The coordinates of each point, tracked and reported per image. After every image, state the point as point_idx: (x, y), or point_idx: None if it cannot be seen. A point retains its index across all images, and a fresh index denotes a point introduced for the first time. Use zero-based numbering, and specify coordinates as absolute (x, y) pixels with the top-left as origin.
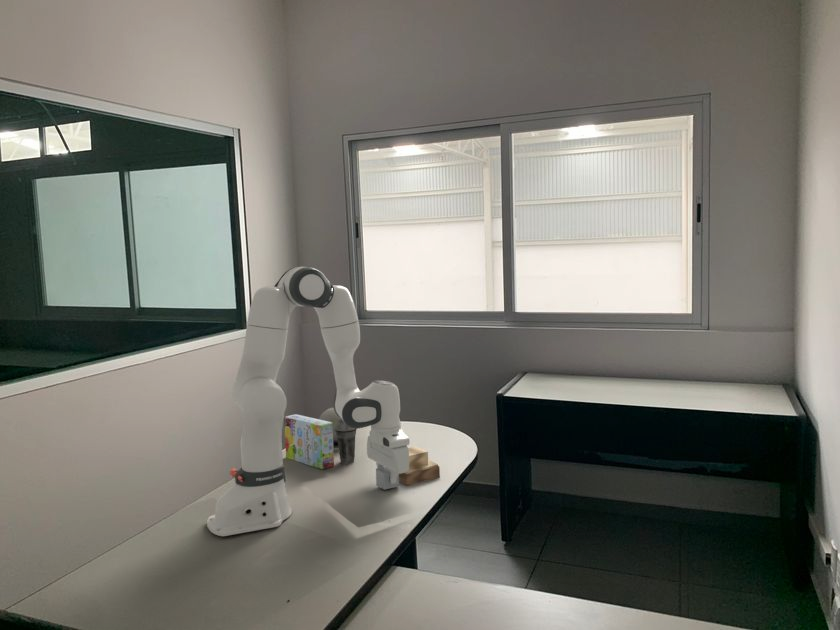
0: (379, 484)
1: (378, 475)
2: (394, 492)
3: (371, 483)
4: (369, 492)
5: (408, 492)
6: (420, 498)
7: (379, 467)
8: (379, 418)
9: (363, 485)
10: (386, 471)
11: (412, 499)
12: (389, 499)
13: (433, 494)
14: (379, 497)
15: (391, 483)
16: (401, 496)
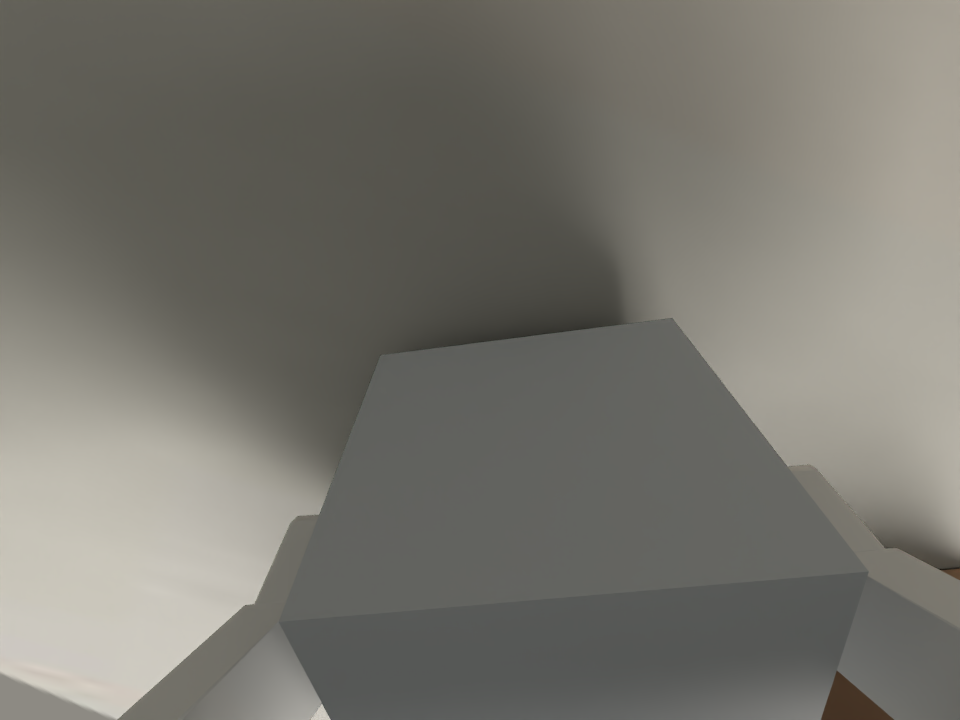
0: (553, 353)
1: (624, 458)
2: (320, 445)
3: (878, 287)
4: (492, 99)
5: (260, 564)
6: (41, 596)
7: (941, 653)
8: None
9: (914, 117)
10: (406, 700)
11: (19, 531)
12: (56, 303)
13: (135, 696)
14: (178, 188)
15: (297, 517)
16: (146, 469)
